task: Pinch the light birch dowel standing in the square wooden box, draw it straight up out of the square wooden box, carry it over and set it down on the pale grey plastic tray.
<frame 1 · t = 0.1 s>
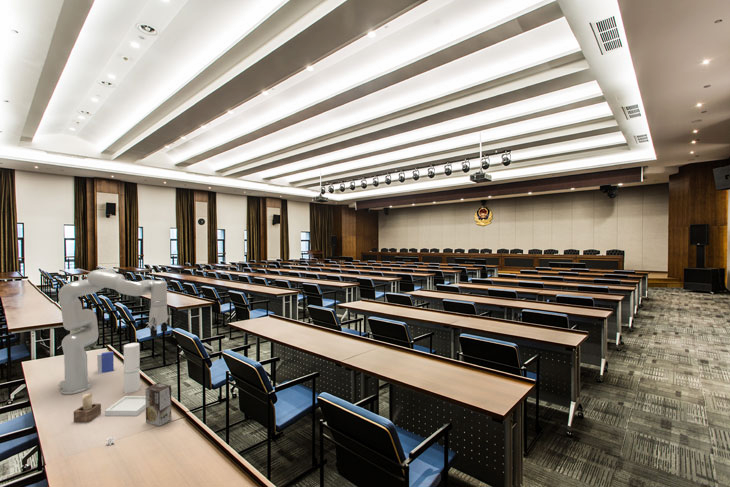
hand: (159, 334, 184), 31 cm above the table, fingers open, 9 cm apart
tray: (130, 408, 167), on the table
square wooden box: (87, 417, 157), on the table
coffee box: (158, 421, 156), on the table
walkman: (105, 372, 207), on the table
cylindrical container: (131, 390, 185), on the table
dowel: (87, 418, 157), resting in square wooden box
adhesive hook: (110, 447, 138), on the table
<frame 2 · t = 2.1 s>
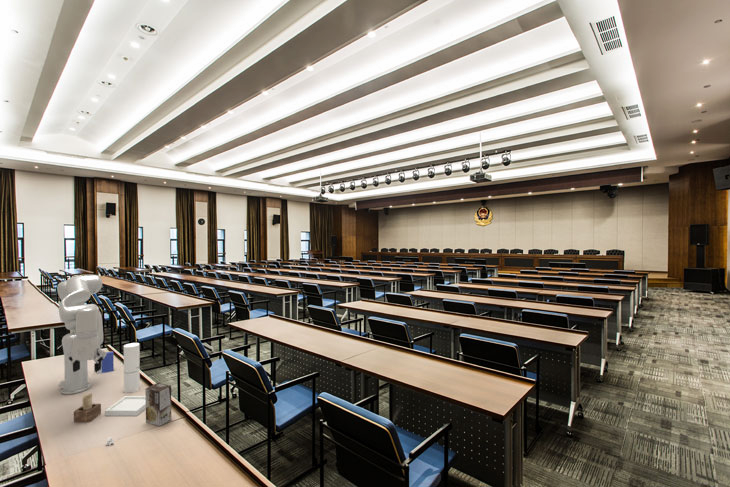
hand: (87, 370, 156), 23 cm above the table, fingers open, 9 cm apart
nothing on the table moved.
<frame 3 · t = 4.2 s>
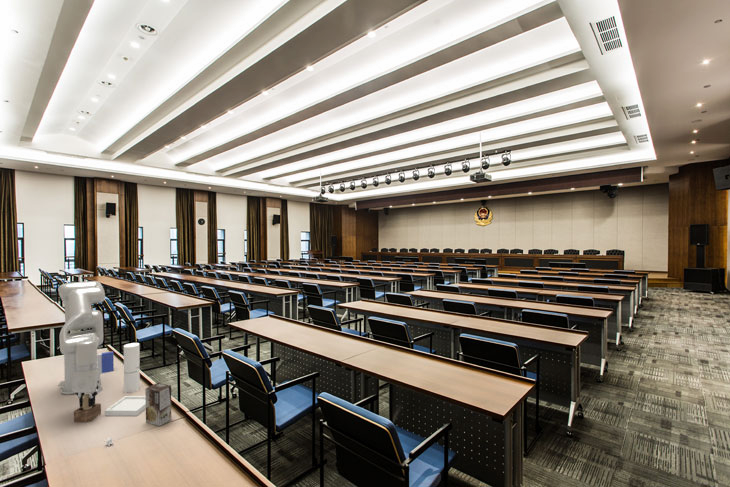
hand: (87, 404, 157), 6 cm above the table, fingers closed on dowel, 3 cm apart
dowel: (87, 418, 157), resting in square wooden box, touching gripper
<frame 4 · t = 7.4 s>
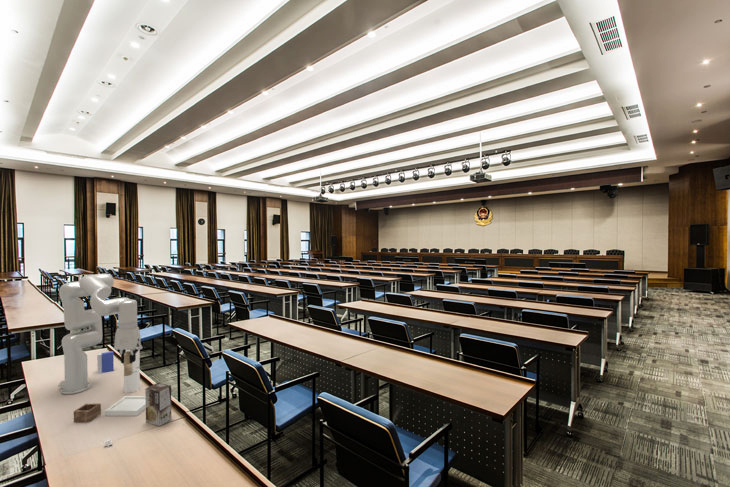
hand: (128, 361, 165), 23 cm above the table, fingers closed on dowel, 3 cm apart
dowel: (128, 374, 165), point 17 cm above the table, touching gripper
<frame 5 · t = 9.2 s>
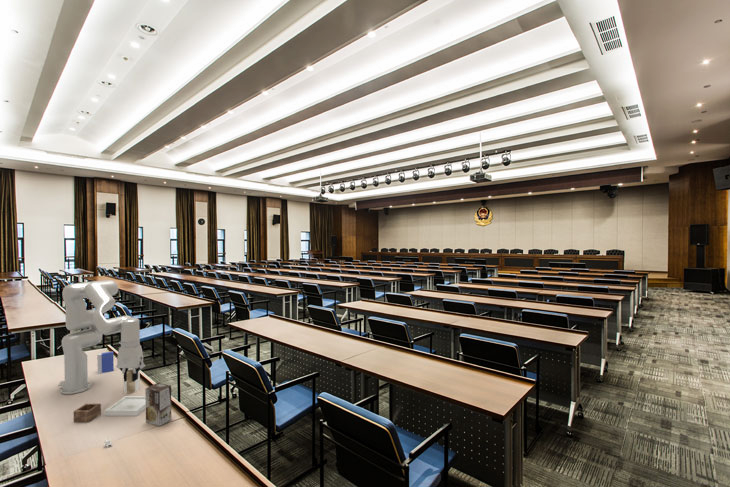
hand: (130, 379, 166), 14 cm above the table, fingers closed on dowel, 3 cm apart
dowel: (131, 392, 166), point 8 cm above the table, touching gripper
when the fingers open (9 cm above the table, at t = 10.5 s): dowel stays where it is, resting on tray.
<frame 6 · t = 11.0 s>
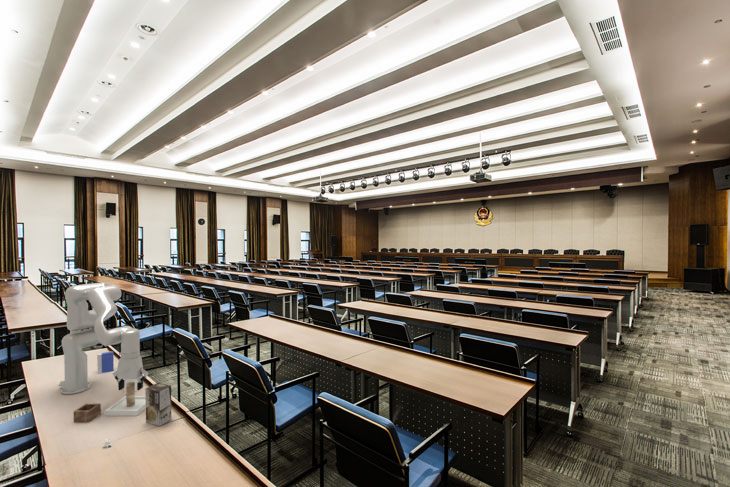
hand: (130, 389, 166), 10 cm above the table, fingers open, 8 cm apart
dowel: (130, 405, 167), point 2 cm above the table, touching tray
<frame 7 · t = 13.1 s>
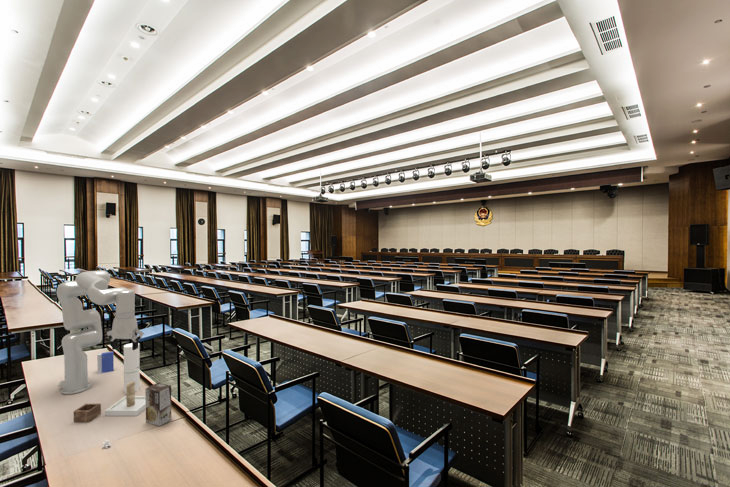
hand: (125, 348, 166), 29 cm above the table, fingers open, 9 cm apart
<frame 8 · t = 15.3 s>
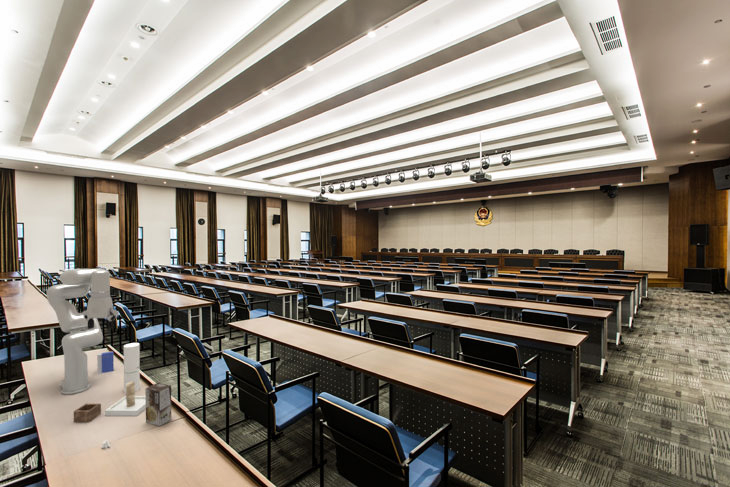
hand: (100, 328, 170), 38 cm above the table, fingers open, 9 cm apart
at the end: dowel inside the target area on the tray (0.1 cm from its centre), point 1.5 cm above the tray's base; dowel moved 16.7 cm from its start; the gripper is holding nothing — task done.
